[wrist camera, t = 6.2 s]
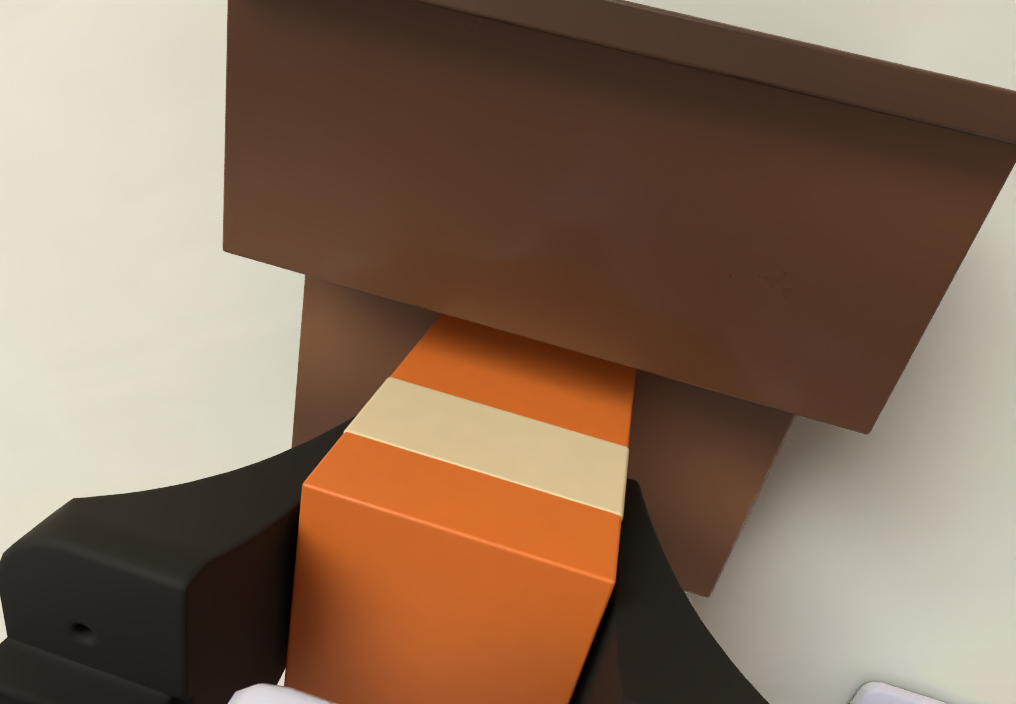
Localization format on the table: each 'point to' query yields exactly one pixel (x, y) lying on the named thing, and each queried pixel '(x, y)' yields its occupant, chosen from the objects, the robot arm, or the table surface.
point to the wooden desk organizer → (609, 214)
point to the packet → (464, 527)
